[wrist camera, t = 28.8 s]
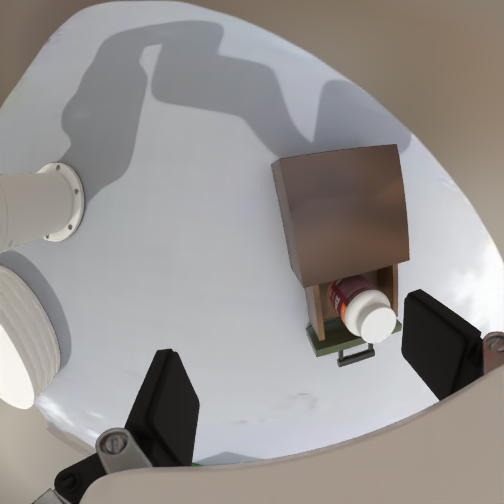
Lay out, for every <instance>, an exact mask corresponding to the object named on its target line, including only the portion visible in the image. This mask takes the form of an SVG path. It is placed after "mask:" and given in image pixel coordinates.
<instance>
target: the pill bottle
mask: <svg viewBox="0 0 504 504" xmlns="http://www.w3.org/2000/svg"><path fill="white" fill-rule="evenodd" d="M327 295H328V300H329V302H330V304H331V306H332V307H333V308H334V310H335V311H336V313H337V314H338V315H339V317H340V318H341V320H342V321H343V323H344V324H345V326H346V327H347V328H348V330H349V331H350V332H351V333H353V334H354V335H357V336H361V337H362V338H363V340H364V341H366V342H368V343H378V342H381V341H383V340H385V339H386V338H387V337H388V336H389V335H390V334H391V333H392V331H393V330H394V328H395V325H396V315H395V313H394V311H393V310H392V309H391V308H390V302H389V300H388V298H387V297H386V296H385V295H384V293H382V292H381V291H380V290H379V289H378V288H376V287H375V286H374V285H373V284H372V283H371V282H369V281H368V280H367V279H366V278H365V277H363V276H362V275H361V274H358V275H354V276H351V277H347V278H343V279H339V280H335V281H331V283H330V285H329V287H328V292H327Z"/></svg>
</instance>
